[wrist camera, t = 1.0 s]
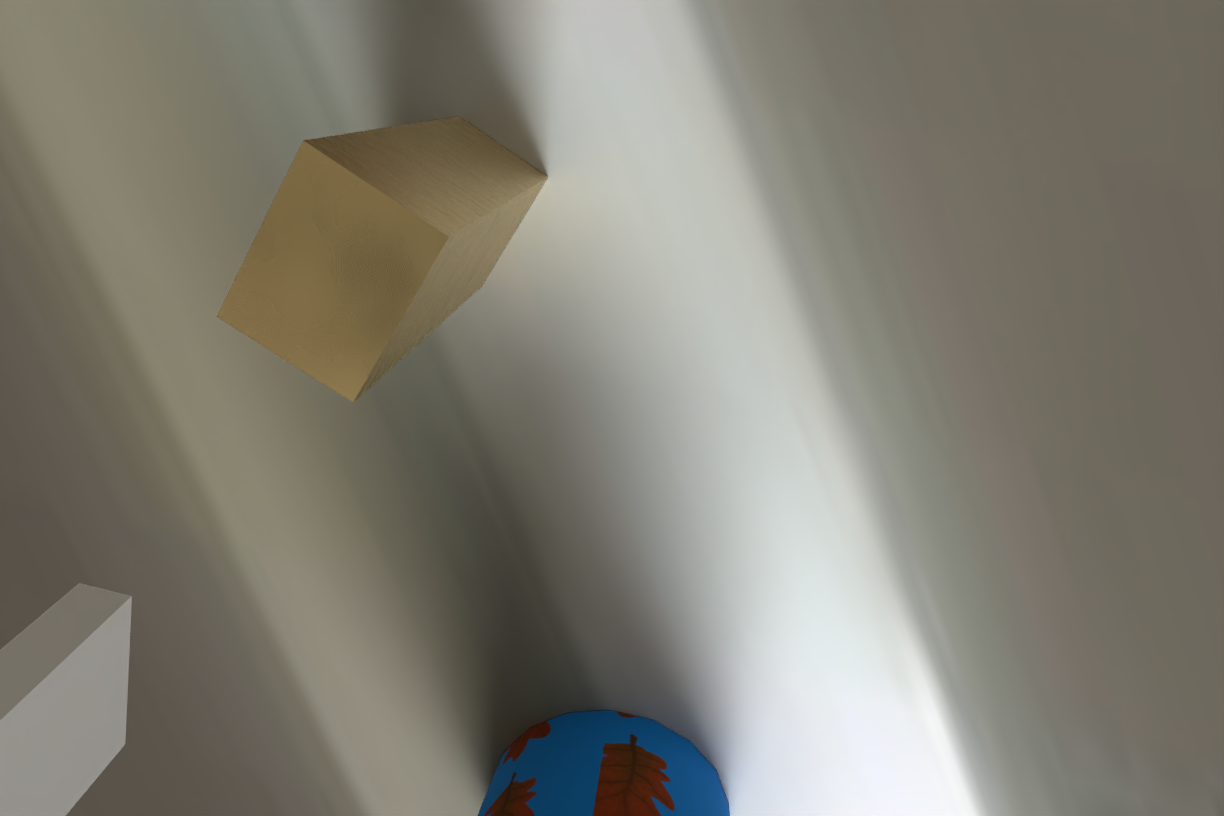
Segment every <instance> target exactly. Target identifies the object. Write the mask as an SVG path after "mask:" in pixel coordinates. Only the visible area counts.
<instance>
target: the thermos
mask: <svg viewBox="0 0 1224 816" xmlns="http://www.w3.org/2000/svg"><path fill="white" fill-rule="evenodd" d="M478 816H730V812H729V803H728V800H727V798H726V795H725V792H724V790H723V787H722V784H721V782H720V779H719V776H718V773H717V771H716V769H715V768H714V767H713V766H712V765H711V764H710V763H709V762H708V761H707V759H706V758H705V757H704V756H703V755H702V754H701V753H700V752H699V751H698V749H697V748H696V747H695V746H694V745H693V744H692V743H691V742H690V741H689V740H687V739H685V738H684V737H682V736H680V735H678V734H677V733H675V732H673V731H671V730H669V729H668V728H666V727H664V726H662V725H661V724H659V723H657V722H655V721H654V720H650V719H646V718H642V717H637V716H633V715H629V714H624V713H620V712H616V711H611V710H606V711H589V712H572V713H566V714H563V715H561V716H558V717H555V718H553V719H550V720H548V721H545V722H543V723H540V724H538V725H535V726H532V727H530V728H529V729H528V730H527V731H526V732H525V733H524V734H523V735H522V736H520V737H519V738H518V739H517V740H516V741H515V742H514V743H513V744H512V745H511V746H509V747H508V748H507V749H506V750H505V751H504V753H503V755H502V758H501V760H500V762H499V765H498V767H497V769H496V772H495V774H494V776H493V778H492V781H491V783H490V786H489V788H488V791H487V793H486V796H485V798H484V801H483V803H482V806H481V808H480V811H479V813H478Z"/></svg>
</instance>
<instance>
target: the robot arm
mask: <svg viewBox="0 0 1224 816" xmlns="http://www.w3.org/2000/svg"><path fill="white" fill-rule="evenodd" d="M131 601H132V596H129V595H125V594H121V593H117V592H113V591H109V590H105V589H101V588H97V587H93V586H89V585H85V584H81V583H79V584H78V585H76V586H75V587H74V588H73V589H72V590H70V591H69V592H68V593H67V594H66V595H65V596H63V597H62V598H61V599H60V600H59V601H57V602H56V603H55V604H54V605H53V606H51V607H50V608H49V609H48V610H47V611H46V612H44V613H43V614H42V615H41V616H40V617H38V618H37V619H36V620H35V621H34V622H32V623H31V624H30V625H29V626H28V627H27V628H25V629H24V630H23V631H22V632H21V633H19V634H18V635H17V636H16V637H15V638H14V639H12V640H11V641H10V642H9V643H8V644H6V645H5V646H4V647H3V648H2V649H0V816H65V815H66V814H67V813H68V812H69V811H70V810H71V808H72V807H73V806H74V805H75V804H76V802H77V801H78V800H79V799H80V798H81V796H82V795H83V794H84V793H85V792H86V790H87V789H88V788H89V787H90V786H91V784H92V783H93V782H94V781H95V780H96V778H97V777H98V776H99V775H100V774H101V773H102V771H103V770H104V769H105V768H106V767H107V765H108V764H109V763H110V762H111V761H112V759H113V758H114V757H115V756H116V755H117V753H118V752H119V751H120V750H121V749H122V747H123V746H124V745H125V736H126V714H127V691H128V669H129V646H130V624H131Z"/></svg>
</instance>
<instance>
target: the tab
mask: <svg viewBox="0 0 1224 816" xmlns="http://www.w3.org/2000/svg"><path fill="white" fill-rule="evenodd" d="M547 178H548V177H547V176H546V175H544V174H543V173H541V172H540V171H538V170H537V169H535V168H534V167H532V166H531V165H529V164H528V163H527V162H525V161H524V160H522V159H521V158H519V157H518V156H516V155H515V154H513V153H512V152H510V151H509V150H507V149H506V148H504V147H503V146H502V145H500V144H499V143H497V142H496V141H494V140H493V139H491V138H490V137H488V136H487V135H485V134H484V133H482V132H481V131H479V130H478V129H477V128H475V127H474V126H472V125H471V124H469V123H468V122H466V121H465V120H463V119H462V118H460V117H459V116H458V117H452V118H445V119H439V120H432V121H426V122H419V123H413V124H406V125H400V126H393V127H387V128H380V129H374V130H368V131H361V132H355V133H348V134H342V135H335V136H329V137H322V138H316V139H309V140H303V142H302V144H301V146H300V148H299V150H298V152H297V154H296V156H295V158H294V160H293V162H292V164H291V166H290V168H289V170H288V172H287V174H286V176H285V178H284V181H283V183H282V185H281V187H280V189H279V191H278V193H277V195H276V197H275V199H274V201H273V203H272V205H271V207H270V209H269V211H268V213H267V215H266V217H265V219H264V221H263V223H262V225H261V227H260V229H259V232H258V234H257V236H256V238H255V240H254V242H253V244H252V246H251V248H250V250H249V252H248V254H247V256H246V258H245V260H244V262H243V264H242V266H241V268H240V270H239V272H238V274H237V276H236V278H235V280H234V283H233V285H232V287H231V289H230V291H229V293H228V295H227V297H226V299H225V301H224V303H223V305H222V307H221V309H220V311H219V313H218V315H217V317H218V318H220V319H221V320H223V321H224V322H226V323H228V324H229V325H231V326H232V327H234V328H236V329H237V330H239V331H240V332H242V333H244V334H245V335H247V336H248V337H250V338H251V339H253V340H255V341H256V342H258V343H259V344H261V345H263V346H264V347H266V348H267V349H269V350H270V351H272V352H274V353H275V354H277V355H278V356H280V357H282V358H283V359H285V360H286V361H288V362H289V363H291V364H293V365H294V366H296V367H297V368H299V369H301V370H302V371H304V372H305V373H307V374H309V375H310V376H312V377H313V378H315V379H316V380H318V381H320V382H321V383H323V384H324V385H326V386H328V387H329V388H331V389H332V390H334V391H335V392H337V393H339V394H340V395H342V396H343V397H345V398H347V399H348V400H350V401H351V402H354V401H355V400H357V399H358V398H359V397H360V396H361V395H362V394H363V393H364V392H365V391H366V390H368V389H369V388H370V387H371V386H372V385H373V384H374V383H375V382H376V381H378V380H379V379H380V378H381V377H382V376H383V375H384V374H385V373H386V372H388V371H389V370H390V369H391V368H392V367H393V366H394V365H395V364H396V363H397V362H399V361H400V360H401V359H402V358H403V357H404V356H405V355H406V354H407V353H409V352H410V351H411V350H412V349H413V348H414V347H415V346H416V345H417V344H419V343H420V342H421V341H422V340H423V339H424V338H425V337H426V336H427V335H428V334H430V333H431V332H432V331H433V330H434V329H435V328H436V327H437V326H438V325H440V324H441V323H442V322H443V321H444V320H445V319H446V318H447V317H448V316H450V315H451V314H452V313H453V312H454V311H455V310H456V309H457V308H458V307H459V306H461V305H462V304H463V303H464V302H465V301H466V300H467V299H468V298H469V297H471V296H472V295H473V294H474V293H475V292H476V291H477V290H478V289H479V288H481V287H482V285H483V283H484V282H485V280H486V278H487V277H488V275H489V273H490V272H491V270H492V268H493V267H494V265H495V264H496V262H497V260H498V259H499V257H500V255H501V254H502V252H503V250H504V249H505V247H506V245H507V244H508V242H509V240H510V239H511V237H512V236H513V234H514V232H515V231H516V229H517V227H518V226H519V224H520V222H521V221H522V219H523V217H524V216H525V214H526V213H527V211H528V209H529V208H530V206H531V204H532V203H533V201H534V199H535V198H536V196H537V194H538V193H539V191H540V190H541V188H542V186H543V185H544V183H545V181H546V180H547Z"/></svg>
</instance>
